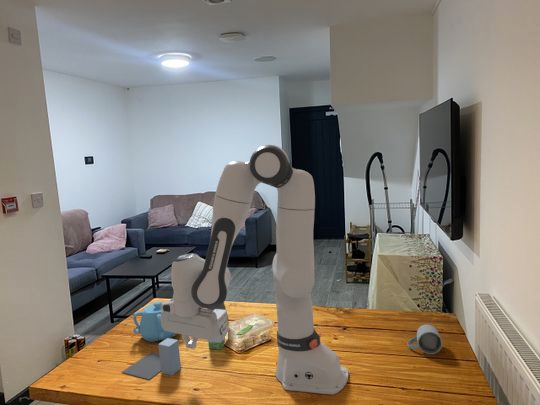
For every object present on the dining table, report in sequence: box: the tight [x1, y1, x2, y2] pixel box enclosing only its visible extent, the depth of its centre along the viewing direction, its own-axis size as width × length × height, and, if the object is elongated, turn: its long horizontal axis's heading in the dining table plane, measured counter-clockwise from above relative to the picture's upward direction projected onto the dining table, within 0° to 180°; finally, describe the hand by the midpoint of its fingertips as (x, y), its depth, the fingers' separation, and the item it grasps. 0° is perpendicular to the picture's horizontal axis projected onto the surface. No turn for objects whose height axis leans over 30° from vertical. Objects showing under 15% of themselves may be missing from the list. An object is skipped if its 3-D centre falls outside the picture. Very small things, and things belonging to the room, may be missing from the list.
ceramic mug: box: [406, 324, 443, 355], centre depth 139 cm, size 11×8×8 cm
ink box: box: [207, 309, 229, 350], centre depth 151 cm, size 8×5×12 cm, turn 164°
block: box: [158, 338, 182, 376], centre depth 135 cm, size 4×4×10 cm
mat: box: [121, 351, 161, 381], centre depth 140 cm, size 12×14×1 cm
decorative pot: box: [133, 300, 178, 343], centre depth 161 cm, size 16×16×14 cm
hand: (191, 347), depth 130 cm, fingers closed
